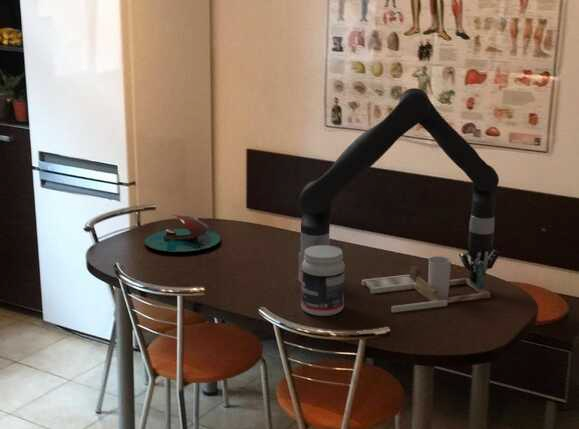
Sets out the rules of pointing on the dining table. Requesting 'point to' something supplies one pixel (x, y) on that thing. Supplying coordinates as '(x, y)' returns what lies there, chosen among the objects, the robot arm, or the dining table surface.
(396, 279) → the plain strip
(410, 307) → the lane rails
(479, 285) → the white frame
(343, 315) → the dining table surface
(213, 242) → the boat on round base
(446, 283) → the mug
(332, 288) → the supplement tub
